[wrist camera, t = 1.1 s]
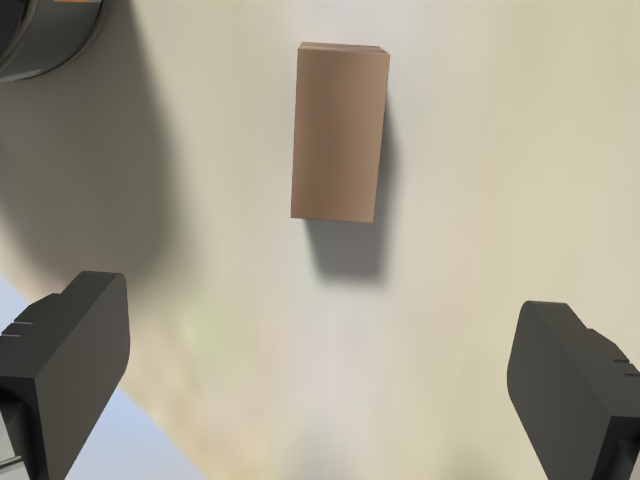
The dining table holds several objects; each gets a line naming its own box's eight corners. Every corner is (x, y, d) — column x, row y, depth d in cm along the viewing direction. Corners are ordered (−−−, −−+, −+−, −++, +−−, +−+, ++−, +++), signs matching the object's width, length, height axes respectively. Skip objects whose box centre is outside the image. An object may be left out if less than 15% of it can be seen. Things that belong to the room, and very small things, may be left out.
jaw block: (378, 46, 27) (389, 54, 22) (365, 188, 30) (372, 222, 25) (302, 41, 27) (298, 48, 22) (295, 185, 29) (290, 217, 25)
